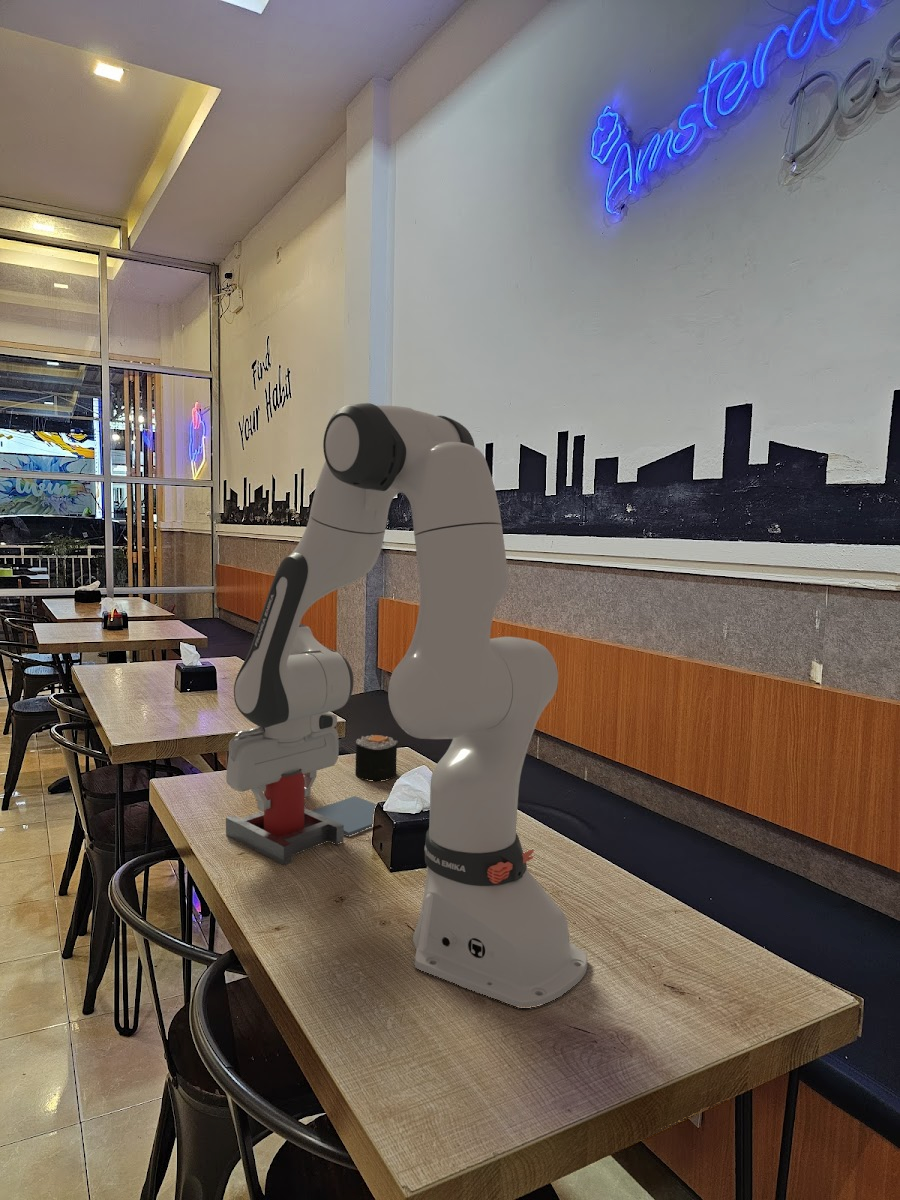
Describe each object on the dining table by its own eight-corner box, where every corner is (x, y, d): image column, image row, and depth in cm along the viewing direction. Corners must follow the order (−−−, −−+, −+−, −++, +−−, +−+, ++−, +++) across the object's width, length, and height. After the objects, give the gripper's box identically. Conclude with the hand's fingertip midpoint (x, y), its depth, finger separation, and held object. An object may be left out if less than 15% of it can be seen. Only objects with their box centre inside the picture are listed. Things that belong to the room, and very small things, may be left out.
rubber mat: (399, 817, 139) (399, 813, 139) (348, 837, 130) (348, 832, 130) (355, 800, 147) (355, 796, 147) (304, 817, 138) (304, 812, 138)
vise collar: (343, 842, 128) (343, 825, 128) (283, 865, 119) (283, 846, 119) (284, 815, 139) (285, 799, 138) (225, 834, 130) (225, 817, 130)
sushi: (372, 765, 167) (372, 729, 167) (403, 773, 163) (404, 736, 162) (347, 775, 161) (348, 738, 160) (379, 784, 156) (380, 745, 155)
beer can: (299, 847, 126) (300, 776, 124) (259, 846, 126) (259, 774, 125) (307, 831, 132) (308, 763, 131) (269, 829, 132) (269, 761, 131)
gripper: (241, 738, 117) (241, 826, 119) (344, 714, 132) (343, 793, 134) (218, 729, 121) (218, 814, 123) (321, 707, 136) (320, 783, 138)
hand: (284, 803), depth 128 cm, fingers closed on beer can, 7 cm apart
